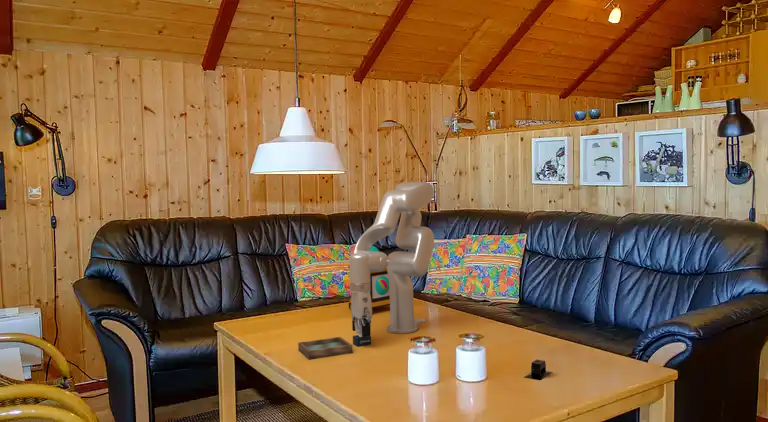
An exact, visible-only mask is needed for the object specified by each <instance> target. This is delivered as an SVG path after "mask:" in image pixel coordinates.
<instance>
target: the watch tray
mask: <svg viewBox="0 0 768 422" xmlns="http://www.w3.org/2000/svg"><path fill="white" fill-rule="evenodd" d="M297 346H298V349H297V350H298V351H299V352H300V353H301V354H302V355H303V356H304V357H305V358H306V359H308V360H316V359H322V358H328V357H335V356H341V355H348V354H353V343H352V344H351V343H350V342H349V341H347V340H345V339H344V338H342V337H341V336H337V337H329V338H322V339H321V338H320V339H314V340H307V341H301V342H298V343H297Z"/></svg>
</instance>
